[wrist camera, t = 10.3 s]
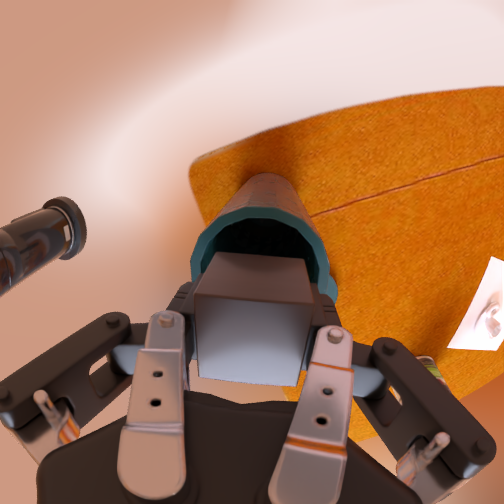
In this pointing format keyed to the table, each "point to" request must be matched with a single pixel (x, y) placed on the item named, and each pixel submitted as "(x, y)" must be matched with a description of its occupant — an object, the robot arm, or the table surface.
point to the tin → (264, 228)
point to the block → (253, 319)
